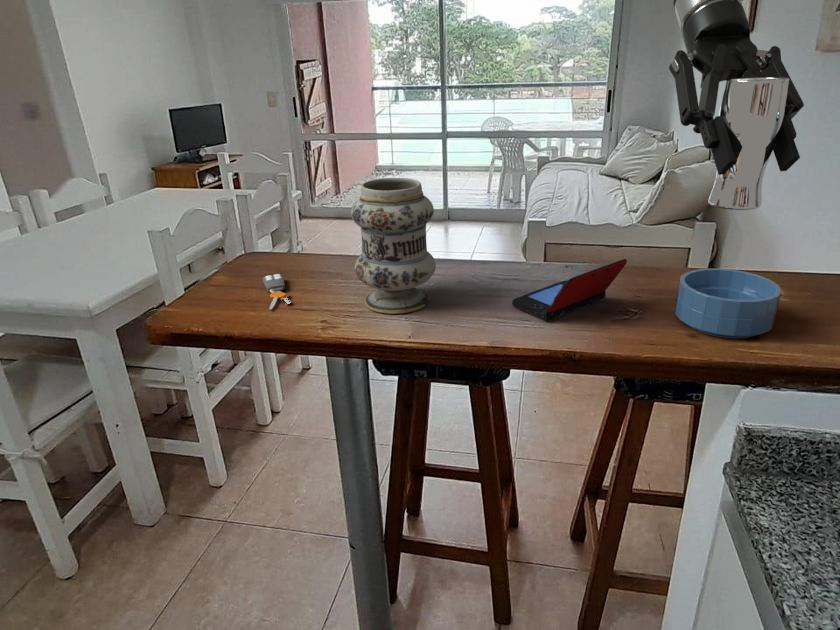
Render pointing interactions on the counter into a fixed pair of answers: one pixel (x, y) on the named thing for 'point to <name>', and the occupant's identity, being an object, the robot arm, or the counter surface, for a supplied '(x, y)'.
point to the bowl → (727, 302)
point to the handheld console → (569, 293)
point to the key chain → (275, 288)
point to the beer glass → (749, 138)
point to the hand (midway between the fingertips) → (758, 166)
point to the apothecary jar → (394, 244)
